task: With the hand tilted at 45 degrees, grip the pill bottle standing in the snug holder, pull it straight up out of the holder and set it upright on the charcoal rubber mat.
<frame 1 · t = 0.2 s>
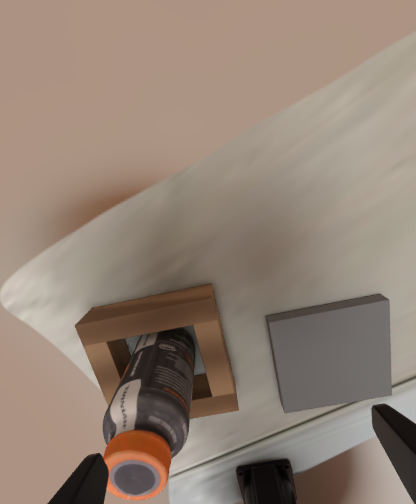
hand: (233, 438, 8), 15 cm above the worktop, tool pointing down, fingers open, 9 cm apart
bottle holder: (166, 348, 24), on the worktop
rubber mat: (327, 352, 24), on the worktop
pill bottle: (167, 347, 24), resting in bottle holder
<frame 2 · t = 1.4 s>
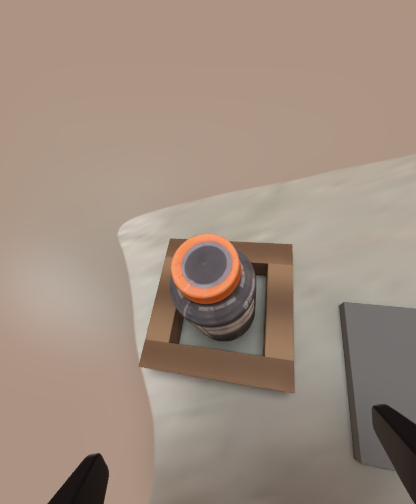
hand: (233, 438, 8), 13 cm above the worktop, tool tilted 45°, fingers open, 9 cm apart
bottle holder: (224, 309, 23), on the worktop
pill bottle: (224, 310, 23), resting in bottle holder
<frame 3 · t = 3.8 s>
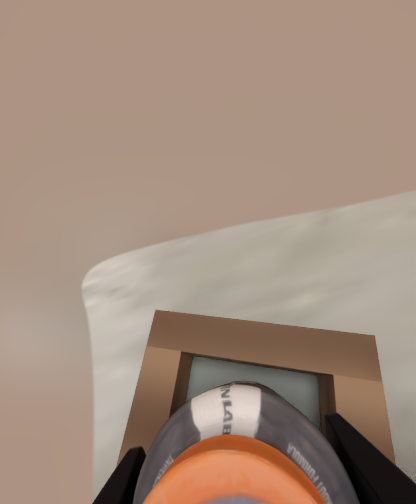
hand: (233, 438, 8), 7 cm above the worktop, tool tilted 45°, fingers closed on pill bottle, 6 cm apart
bottle holder: (247, 441, 13), on the worktop
pill bottle: (247, 440, 13), resting in bottle holder, touching gripper
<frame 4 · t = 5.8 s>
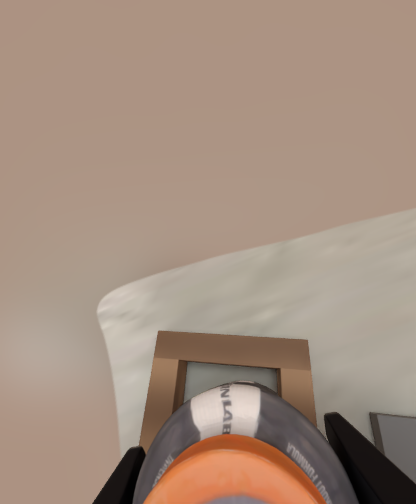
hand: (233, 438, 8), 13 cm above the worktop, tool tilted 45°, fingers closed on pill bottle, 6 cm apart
bottle holder: (228, 418, 19), on the worktop
pill bottle: (246, 439, 13), point 6 cm above the worktop, touching gripper
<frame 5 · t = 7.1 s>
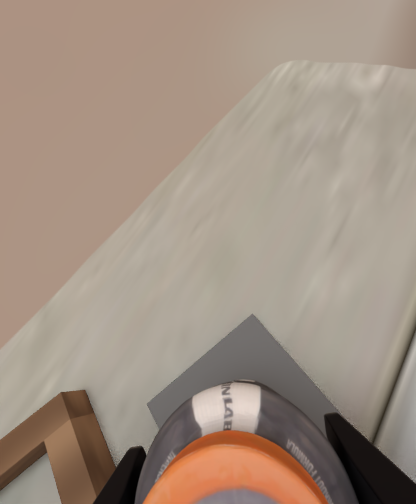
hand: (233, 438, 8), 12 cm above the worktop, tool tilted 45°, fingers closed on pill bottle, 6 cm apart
rubber mat: (247, 420, 18), on the worktop
pill bottle: (246, 438, 14), point 5 cm above the worktop, touching gripper
when the fingers open (9 cm above the worktop, at t = 8.1 s): pill bottle stays where it is, resting on rubber mat.
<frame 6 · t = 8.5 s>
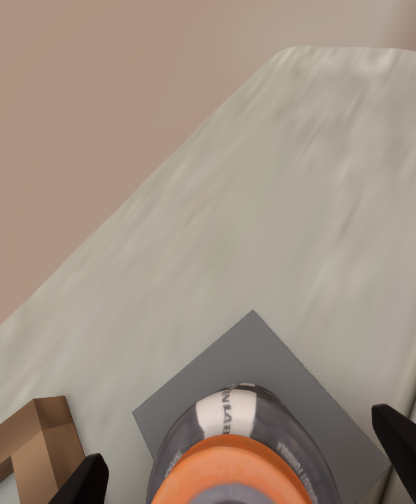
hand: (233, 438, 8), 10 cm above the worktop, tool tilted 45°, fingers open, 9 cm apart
rubber mat: (247, 431, 15), on the worktop
pill bottle: (247, 437, 14), point 1 cm above the worktop, touching rubber mat
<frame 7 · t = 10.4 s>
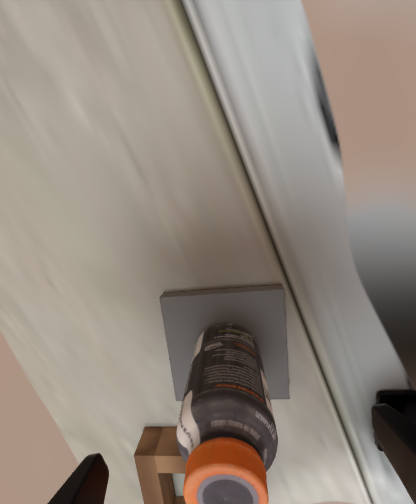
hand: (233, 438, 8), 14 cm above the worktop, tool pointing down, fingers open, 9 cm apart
bottle holder: (204, 471, 26), on the worktop
rubber mat: (226, 341, 23), on the worktop
pill bottle: (227, 349, 22), point 1 cm above the worktop, touching rubber mat
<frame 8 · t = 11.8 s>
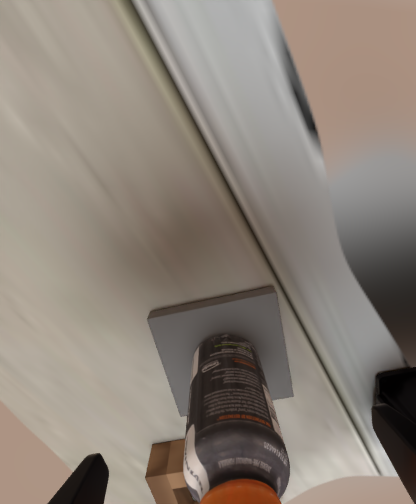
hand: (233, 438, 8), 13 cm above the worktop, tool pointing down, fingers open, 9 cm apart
bottle holder: (218, 473, 27), on the worktop
rubber mat: (223, 350, 22), on the worktop
pill bottle: (225, 359, 21), point 1 cm above the worktop, touching rubber mat
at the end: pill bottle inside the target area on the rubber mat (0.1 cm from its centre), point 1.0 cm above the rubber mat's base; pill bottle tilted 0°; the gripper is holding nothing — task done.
